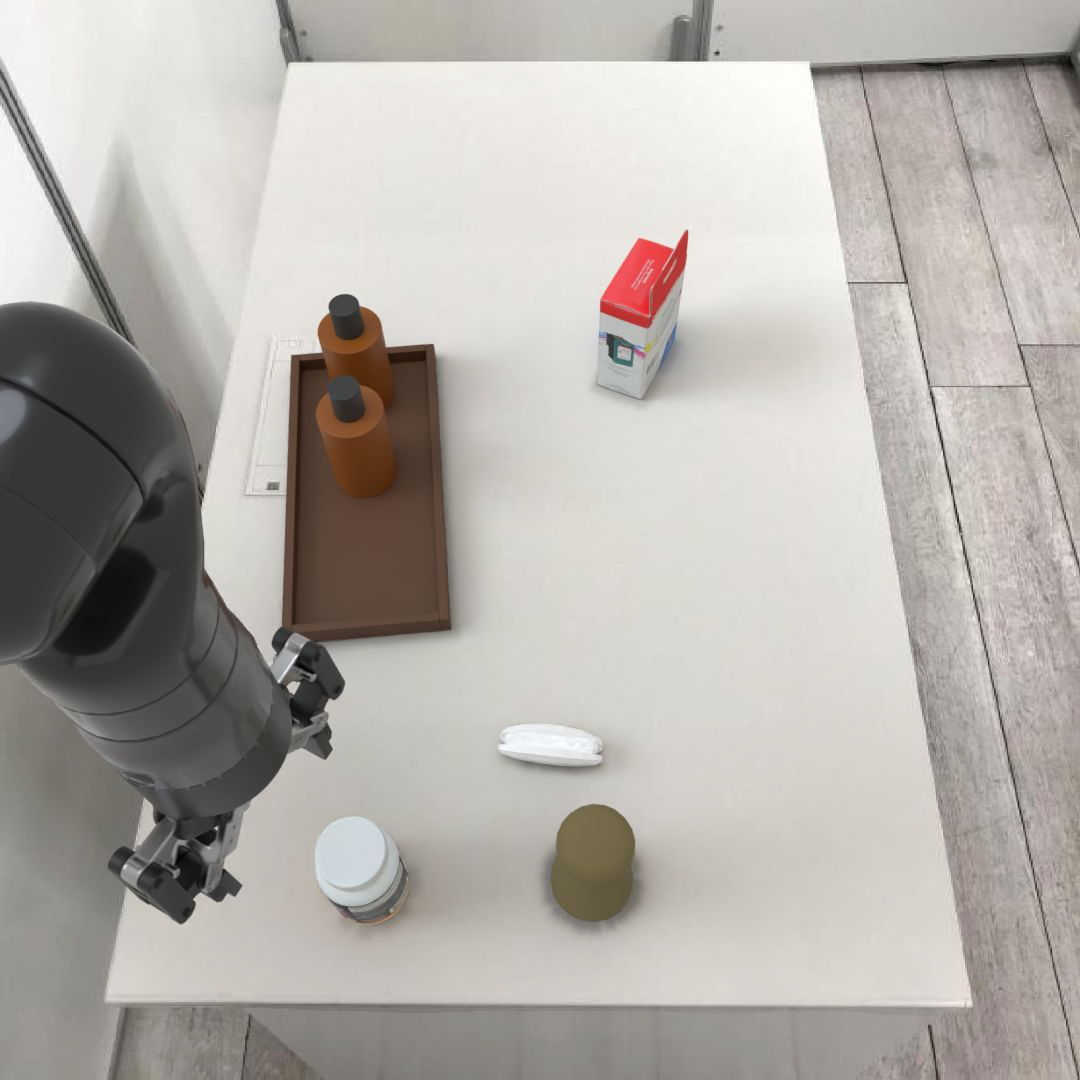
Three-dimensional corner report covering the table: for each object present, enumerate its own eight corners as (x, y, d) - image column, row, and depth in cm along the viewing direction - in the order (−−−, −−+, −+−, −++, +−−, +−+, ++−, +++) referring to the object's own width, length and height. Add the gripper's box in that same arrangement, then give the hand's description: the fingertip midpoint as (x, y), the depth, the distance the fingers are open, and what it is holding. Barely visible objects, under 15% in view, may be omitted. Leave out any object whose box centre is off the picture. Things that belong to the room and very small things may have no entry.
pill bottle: (321, 869, 78) (292, 831, 70) (393, 833, 80) (373, 792, 71) (350, 941, 76) (324, 911, 67) (424, 903, 77) (407, 869, 69)
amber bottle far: (335, 420, 99) (309, 332, 89) (335, 373, 102) (310, 283, 92) (395, 415, 99) (377, 326, 89) (394, 368, 102) (376, 278, 92)
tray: (286, 644, 88) (281, 634, 86) (295, 368, 103) (291, 354, 101) (451, 629, 88) (449, 619, 87) (435, 357, 104) (433, 343, 102)
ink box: (630, 324, 105) (640, 208, 93) (676, 341, 104) (693, 225, 92) (594, 385, 101) (599, 273, 89) (641, 403, 100) (654, 292, 88)
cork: (628, 834, 79) (638, 788, 70) (637, 918, 76) (648, 882, 67) (547, 840, 79) (546, 794, 70) (553, 924, 76) (552, 888, 67)
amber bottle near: (335, 500, 94) (307, 417, 84) (335, 449, 97) (309, 363, 87) (398, 495, 95) (378, 412, 84) (396, 444, 98) (377, 358, 87)
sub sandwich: (600, 775, 82) (601, 763, 79) (497, 764, 82) (495, 751, 80) (604, 737, 83) (605, 724, 81) (502, 726, 84) (501, 712, 82)
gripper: (213, 537, 49) (290, 679, 63) (-4, 806, 43) (134, 897, 57) (349, 605, 47) (397, 735, 61) (143, 897, 41) (248, 969, 55)
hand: (270, 813), depth 59 cm, fingers open, 8 cm apart
